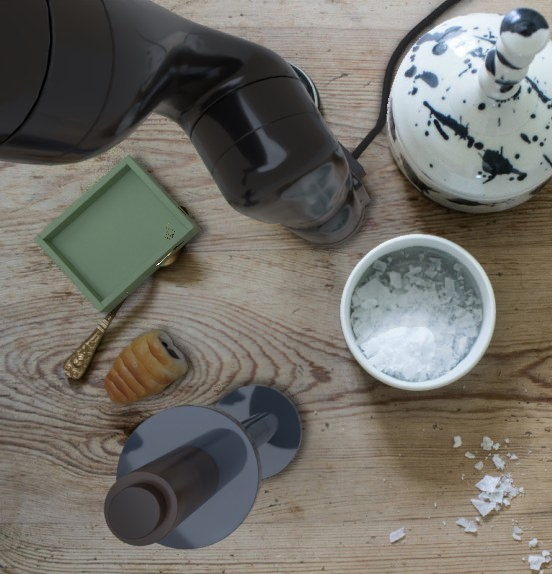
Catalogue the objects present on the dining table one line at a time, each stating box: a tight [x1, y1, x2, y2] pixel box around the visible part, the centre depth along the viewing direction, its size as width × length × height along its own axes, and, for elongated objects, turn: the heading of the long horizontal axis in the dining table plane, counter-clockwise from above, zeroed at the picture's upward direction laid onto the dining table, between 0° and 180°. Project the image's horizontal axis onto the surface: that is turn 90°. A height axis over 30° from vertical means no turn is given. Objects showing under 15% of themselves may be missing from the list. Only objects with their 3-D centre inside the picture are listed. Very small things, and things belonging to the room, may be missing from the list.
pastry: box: [103, 329, 189, 405], centre depth 71 cm, size 9×7×4 cm
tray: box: [33, 154, 202, 313], centre depth 72 cm, size 15×12×2 cm
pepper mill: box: [103, 446, 218, 547], centre depth 47 cm, size 5×5×10 cm
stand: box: [115, 383, 303, 550], centre depth 62 cm, size 12×12×21 cm
